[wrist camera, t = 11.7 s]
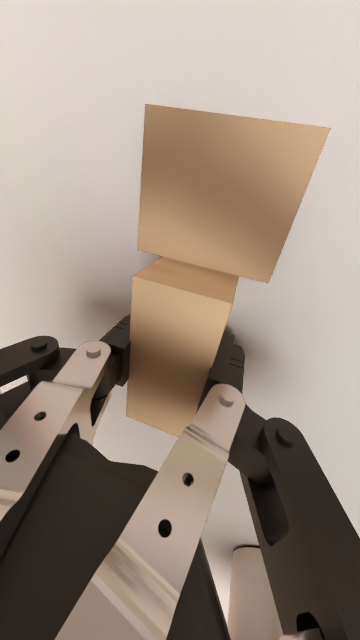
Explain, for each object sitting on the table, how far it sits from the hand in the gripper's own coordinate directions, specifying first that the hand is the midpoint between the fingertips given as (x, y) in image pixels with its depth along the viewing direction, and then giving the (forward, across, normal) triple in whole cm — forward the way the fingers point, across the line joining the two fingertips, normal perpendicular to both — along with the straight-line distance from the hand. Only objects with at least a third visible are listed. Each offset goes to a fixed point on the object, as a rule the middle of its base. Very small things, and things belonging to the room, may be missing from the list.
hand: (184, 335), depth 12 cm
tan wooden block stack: (0, 0, -2) cm, 2 cm away
